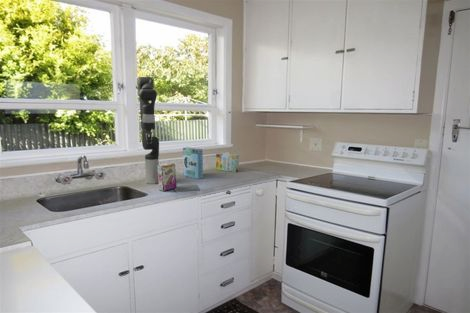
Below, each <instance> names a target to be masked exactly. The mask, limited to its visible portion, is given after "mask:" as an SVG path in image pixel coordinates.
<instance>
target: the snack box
mask: <svg viewBox="0 0 470 313" xmlns="http://www.w3.org/2000/svg"><path fill="white" fill-rule="evenodd" d="M215 156H216V157H215V162H216V163H215V164H216V166H215V170H217V171H221V170H223V171H222V172H229V171H230V172H231V173H238V171H239V170H240V169H239V167H240V154H234V153H220V152H218V153H216V155H215Z"/></svg>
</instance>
